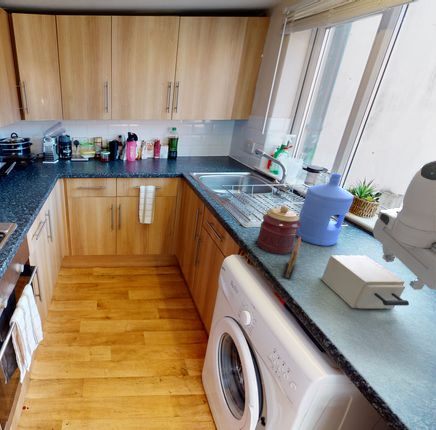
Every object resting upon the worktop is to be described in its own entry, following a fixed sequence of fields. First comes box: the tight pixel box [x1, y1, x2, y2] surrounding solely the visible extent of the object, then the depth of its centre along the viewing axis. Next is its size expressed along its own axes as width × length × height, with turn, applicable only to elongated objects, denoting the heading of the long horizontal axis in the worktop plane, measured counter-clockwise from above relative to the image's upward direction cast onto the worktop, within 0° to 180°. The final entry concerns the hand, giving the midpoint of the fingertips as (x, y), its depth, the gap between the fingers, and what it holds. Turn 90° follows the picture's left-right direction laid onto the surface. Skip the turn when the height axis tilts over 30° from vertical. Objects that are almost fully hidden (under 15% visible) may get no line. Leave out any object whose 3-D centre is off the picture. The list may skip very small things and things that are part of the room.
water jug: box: [296, 173, 355, 247], centre depth 118 cm, size 16×16×28 cm
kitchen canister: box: [256, 205, 300, 255], centre depth 112 cm, size 13×13×18 cm
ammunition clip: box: [283, 236, 302, 280], centre depth 98 cm, size 11×2×12 cm, turn 143°
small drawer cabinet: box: [321, 254, 405, 309], centre depth 89 cm, size 14×12×10 cm
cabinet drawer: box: [356, 284, 410, 309], centre depth 85 cm, size 17×10×8 cm, turn 1°
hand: (400, 273), depth 72 cm, fingers open, 8 cm apart
